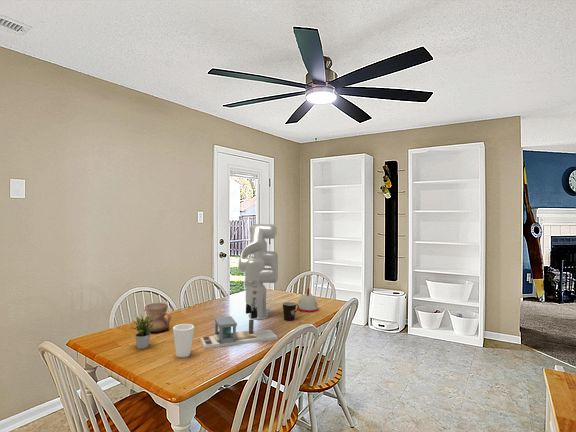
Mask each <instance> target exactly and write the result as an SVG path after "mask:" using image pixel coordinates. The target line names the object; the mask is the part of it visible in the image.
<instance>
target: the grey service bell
mask: <svg viewBox="0 0 576 432" xmlns="http://www.w3.org/2000/svg"><path fill="white" fill-rule="evenodd" d="M298 305H299V308H298V307H297V308H298V310H297V311H298V312H301V313H306V314H307V313H316V312H318V311H319V310H318V309H319V308H318V305H319V304H318V300H317V299H316V298H315V295H313V294H312V293H310V287H308V288H307V291H306V293H304V294H303V295H302V296H301V298H299V300H298Z"/></svg>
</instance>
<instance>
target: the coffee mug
mask: <svg viewBox="0 0 576 432" xmlns="http://www.w3.org/2000/svg"><path fill="white" fill-rule="evenodd" d="M298 308H299V305H298V304H297V303H296V302H291V301H286V302H283V303H282V310H283V320H284V321H286V322H293V321H294V320H295V318H296V317H295V315H296V312H298V311H299V310H298Z"/></svg>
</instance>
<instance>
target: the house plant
mask: <svg viewBox="0 0 576 432" xmlns="http://www.w3.org/2000/svg"><path fill="white" fill-rule="evenodd" d="M140 316H141V318H139V317H138V316H137V315H136V314H135V318H136V320H133V319H130V320H131V321H132V322H133V323H134V324H135V325H136V326H135V327H134V326H131V327H130V328H128V329H129V330H136V331H137V333H135V335H134V338H135V342H136V348H137V349H138V350H143V349H147V348H149V345H150V340H151V339H150V338H151V333H152V332H148V330H149V328H153V329H155V328H154V327H153V326H154V325H153V324H152V325H151V324H150V323H152V321H153V320H154V318H155V317H154V318H152V319H151V320H150V321H149V322H148V320H149V316H150V315H148V314H146V317H145V318H144V317H143V314H142V313H140ZM156 317H158V316H156ZM155 320H156V318H155ZM147 323H148V324H147ZM146 324H147V325H146ZM154 324H155V323H154ZM149 325H151V326H149ZM148 326H149V327H148Z"/></svg>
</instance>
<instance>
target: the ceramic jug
mask: <svg viewBox="0 0 576 432" xmlns="http://www.w3.org/2000/svg"><path fill="white" fill-rule="evenodd" d="M168 306H169V304H168V303H167V302H163V301H162V302H161V301H159V302H149V303H147V304H145V305H144V308H143V312H145V313H146V315H147V314H148V315H150V316H149V320H148V322H149V321H150V320H151V319H152V318H154V317H155V318H156V320H155V318H154V320H153V321H152V323H150V324H151V325H152V324H153V325H154V326H153V327H154V328H155V329H153V328H149V330H148V331H147V332H150V333H157V332H162V331H164V330H166V329H167V330H168V328H169V327H170V322H171V320H172V314H171V312H169V311H167V310H168ZM166 315H167V317H168V318H166V317H165V316H166ZM156 316H158V317H156ZM154 323H155V324H154ZM147 324H148V323H147ZM147 324H146V325H147ZM151 325H149V326H151ZM149 326H148V327H149Z"/></svg>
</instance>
